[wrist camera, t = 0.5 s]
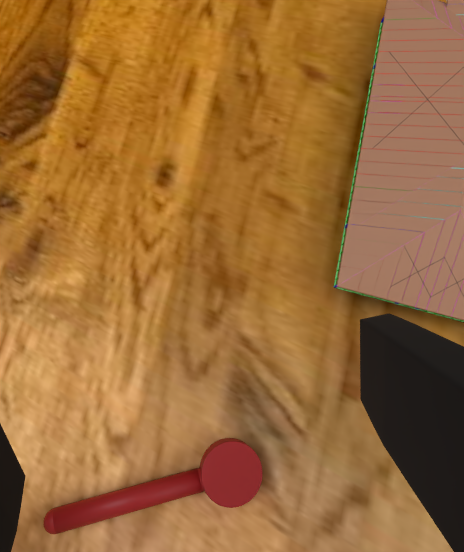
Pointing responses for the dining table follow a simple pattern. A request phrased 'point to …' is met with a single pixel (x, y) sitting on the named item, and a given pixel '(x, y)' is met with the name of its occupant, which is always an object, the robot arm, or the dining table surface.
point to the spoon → (172, 488)
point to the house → (411, 165)
